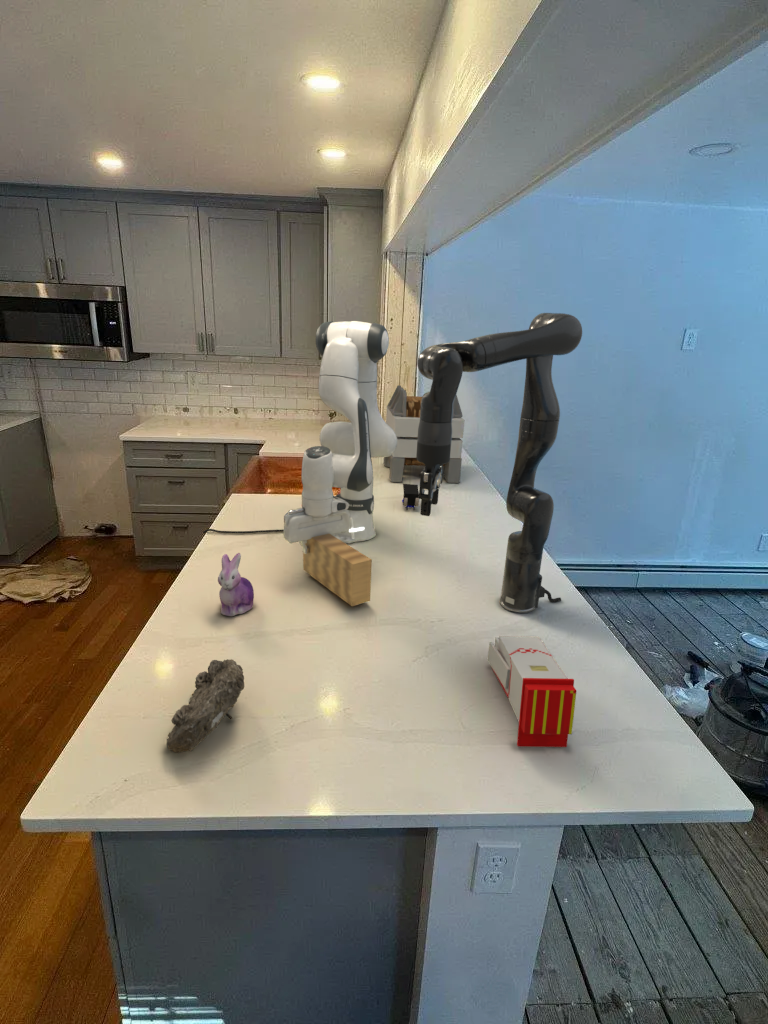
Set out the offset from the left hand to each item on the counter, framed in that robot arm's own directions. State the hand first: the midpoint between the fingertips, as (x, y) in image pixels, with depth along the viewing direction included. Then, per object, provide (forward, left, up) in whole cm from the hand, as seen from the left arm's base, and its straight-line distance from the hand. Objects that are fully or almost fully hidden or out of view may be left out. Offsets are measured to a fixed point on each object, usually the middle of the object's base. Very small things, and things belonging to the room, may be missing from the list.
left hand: (317, 550), depth 164 cm
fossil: (+4, -63, -8) cm, 64 cm away
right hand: (+35, -18, +23) cm, 46 cm away
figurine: (-12, -25, -8) cm, 29 cm away
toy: (+61, -38, -8) cm, 72 cm away
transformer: (+4, +120, -8) cm, 121 cm away
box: (+8, -6, -7) cm, 12 cm away
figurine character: (+11, +71, -8) cm, 72 cm away
